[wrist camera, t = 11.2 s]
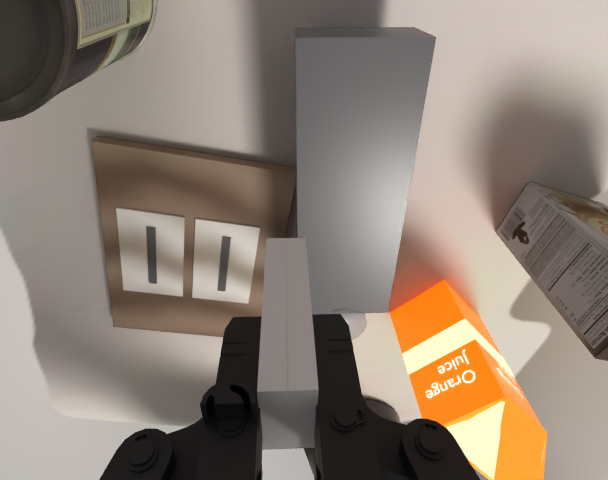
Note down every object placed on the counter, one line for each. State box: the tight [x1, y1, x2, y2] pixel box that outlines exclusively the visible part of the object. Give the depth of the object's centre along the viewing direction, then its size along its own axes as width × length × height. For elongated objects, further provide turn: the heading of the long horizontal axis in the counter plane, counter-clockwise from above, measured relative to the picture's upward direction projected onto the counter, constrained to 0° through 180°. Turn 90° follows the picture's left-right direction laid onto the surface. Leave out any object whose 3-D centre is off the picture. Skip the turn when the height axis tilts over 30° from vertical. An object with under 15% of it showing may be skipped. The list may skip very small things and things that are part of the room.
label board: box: [92, 136, 296, 337], centre depth 39 cm, size 22×24×3 cm
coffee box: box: [496, 182, 608, 361], centre depth 33 cm, size 9×6×16 cm
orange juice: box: [390, 280, 547, 480], centre depth 39 cm, size 8×9×20 cm
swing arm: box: [294, 27, 436, 340], centre depth 31 cm, size 8×26×4 cm, turn 0°
